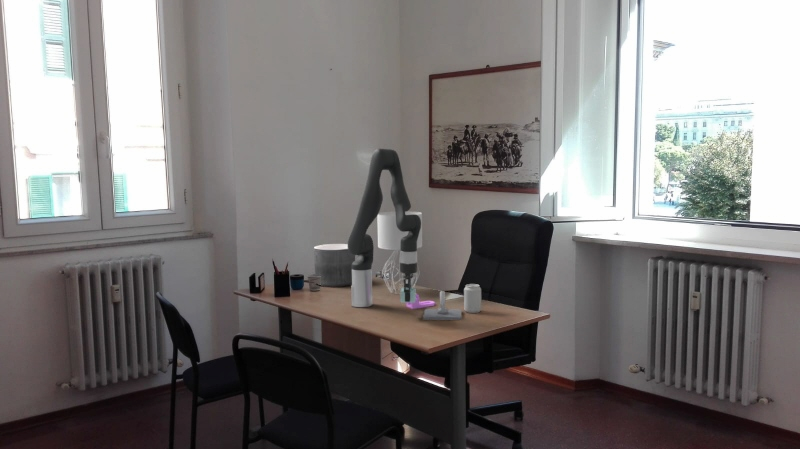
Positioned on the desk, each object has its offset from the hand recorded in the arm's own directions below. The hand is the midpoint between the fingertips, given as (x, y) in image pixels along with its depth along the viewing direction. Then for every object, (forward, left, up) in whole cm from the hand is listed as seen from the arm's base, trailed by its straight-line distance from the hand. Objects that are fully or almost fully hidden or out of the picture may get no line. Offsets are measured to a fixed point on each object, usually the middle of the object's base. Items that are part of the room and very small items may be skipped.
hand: (408, 299), depth 282 cm
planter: (-46, +72, -8) cm, 86 cm away
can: (+28, +11, -8) cm, 31 cm away
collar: (0, 0, -1) cm, 1 cm away
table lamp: (-8, +51, -8) cm, 52 cm away
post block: (+15, +3, -8) cm, 17 cm away
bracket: (+4, +21, -8) cm, 23 cm away
